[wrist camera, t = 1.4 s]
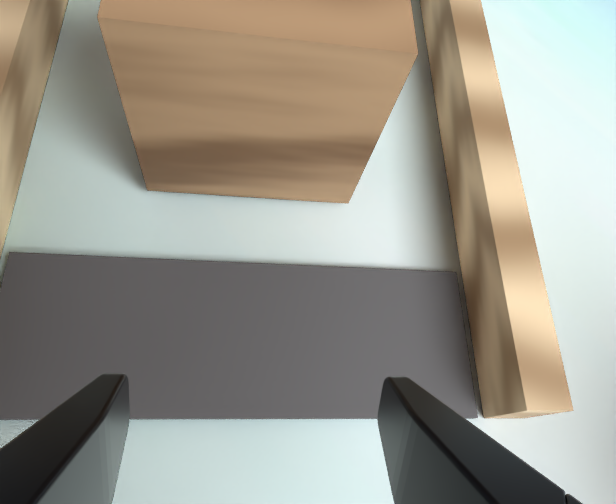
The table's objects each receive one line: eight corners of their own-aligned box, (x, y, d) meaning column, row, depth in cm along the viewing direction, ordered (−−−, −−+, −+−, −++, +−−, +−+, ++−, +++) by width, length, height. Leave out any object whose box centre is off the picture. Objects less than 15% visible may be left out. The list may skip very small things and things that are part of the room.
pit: (473, 418, 22) (478, 417, 22) (-29, 419, 19) (-34, 418, 18) (452, 275, 25) (456, 272, 24) (13, 255, 22) (9, 252, 21)
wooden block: (348, 203, 25) (418, 53, 16) (147, 190, 23) (97, 17, 14) (344, 124, 27) (403, -48, 18) (158, 108, 25) (121, -89, 16)
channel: (524, 418, 22) (583, 409, 19) (-100, 419, 18) (-181, 408, 15) (445, -5, 34) (473, -64, 30) (48, -59, 30) (22, -133, 26)
